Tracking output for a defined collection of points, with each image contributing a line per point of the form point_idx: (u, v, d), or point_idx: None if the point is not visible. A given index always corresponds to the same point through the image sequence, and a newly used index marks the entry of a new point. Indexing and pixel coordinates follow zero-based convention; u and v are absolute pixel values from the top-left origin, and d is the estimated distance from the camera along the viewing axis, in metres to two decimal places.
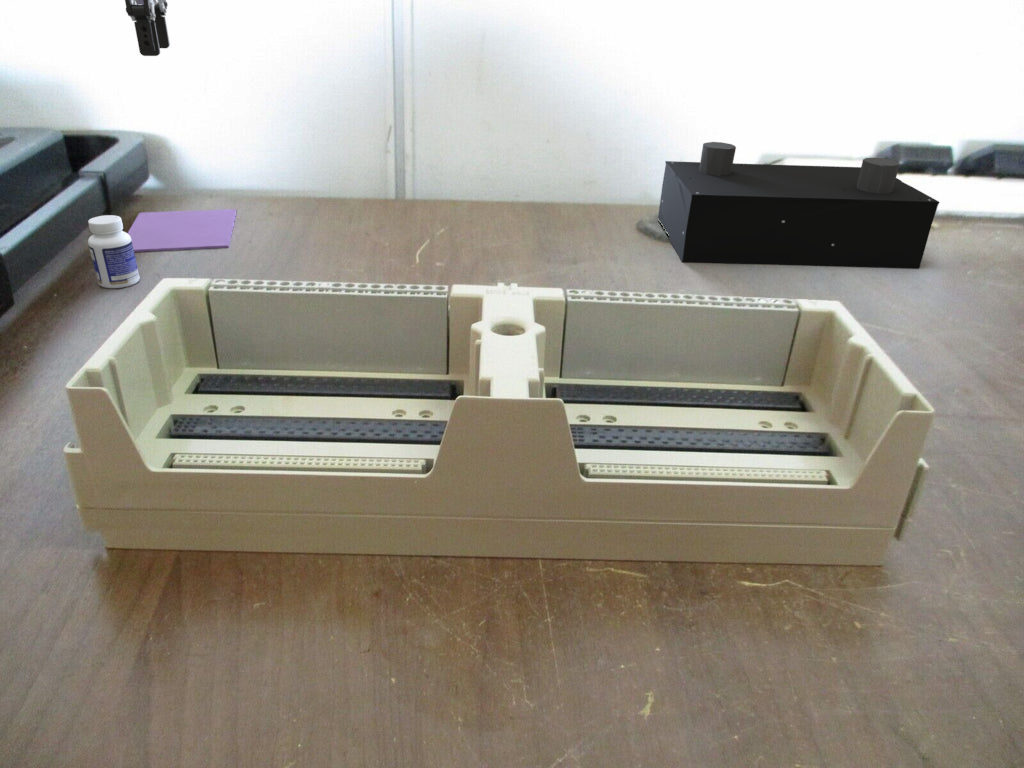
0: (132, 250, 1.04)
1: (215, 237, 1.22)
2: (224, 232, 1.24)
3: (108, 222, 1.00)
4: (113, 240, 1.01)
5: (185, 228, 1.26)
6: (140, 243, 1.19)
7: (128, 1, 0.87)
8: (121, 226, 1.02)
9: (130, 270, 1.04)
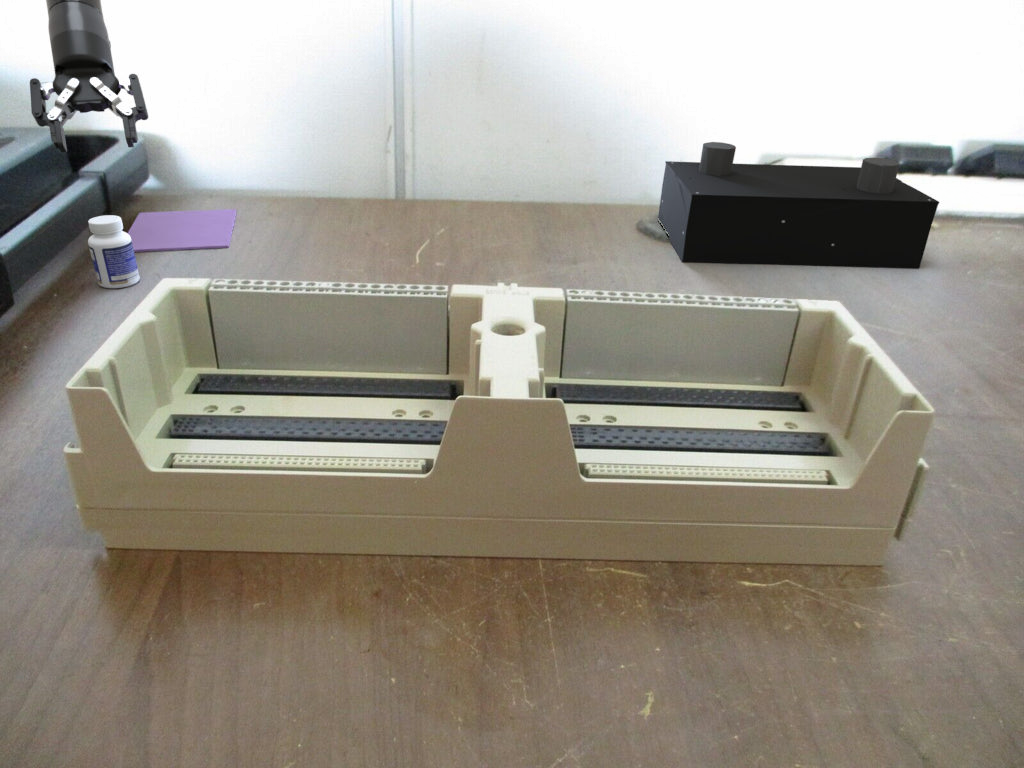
0: (132, 250, 1.04)
1: (215, 237, 1.22)
2: (224, 232, 1.24)
3: (108, 222, 1.00)
4: (113, 240, 1.01)
5: (185, 228, 1.26)
6: (140, 243, 1.19)
7: (144, 102, 1.09)
8: (121, 226, 1.02)
9: (130, 270, 1.04)
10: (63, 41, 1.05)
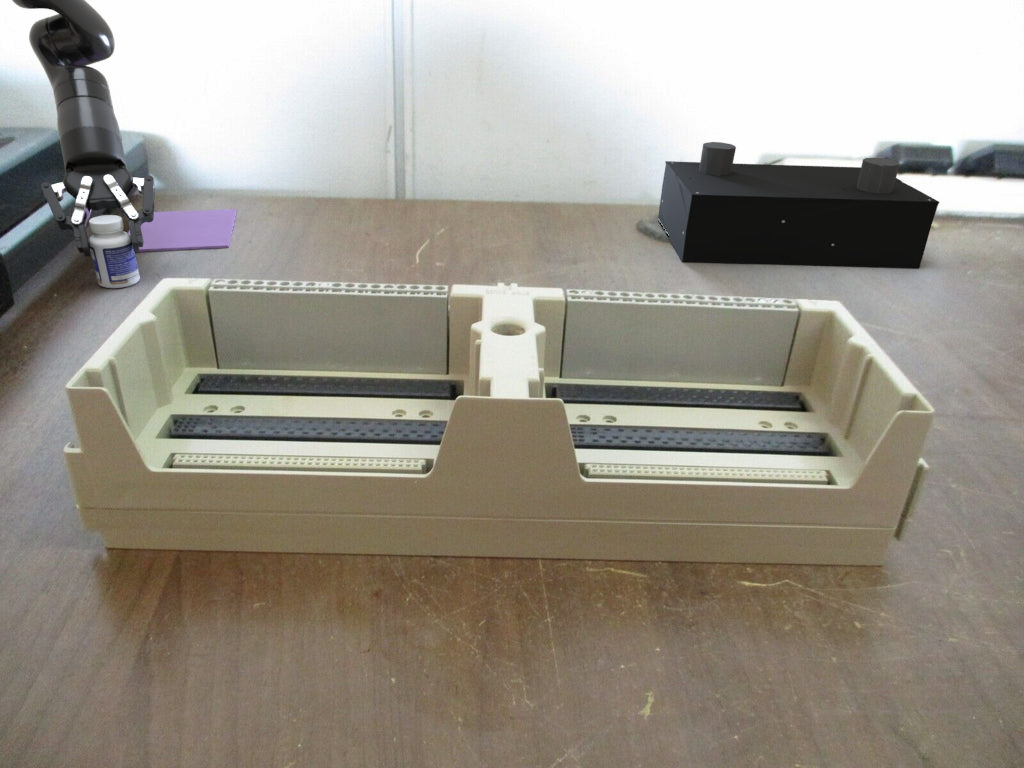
0: (132, 250, 1.04)
1: (215, 237, 1.22)
2: (224, 232, 1.24)
3: (109, 222, 1.00)
4: (114, 240, 1.01)
5: (185, 228, 1.26)
6: None
7: (152, 205, 1.04)
8: (122, 226, 1.02)
9: (130, 270, 1.04)
10: (76, 138, 1.01)
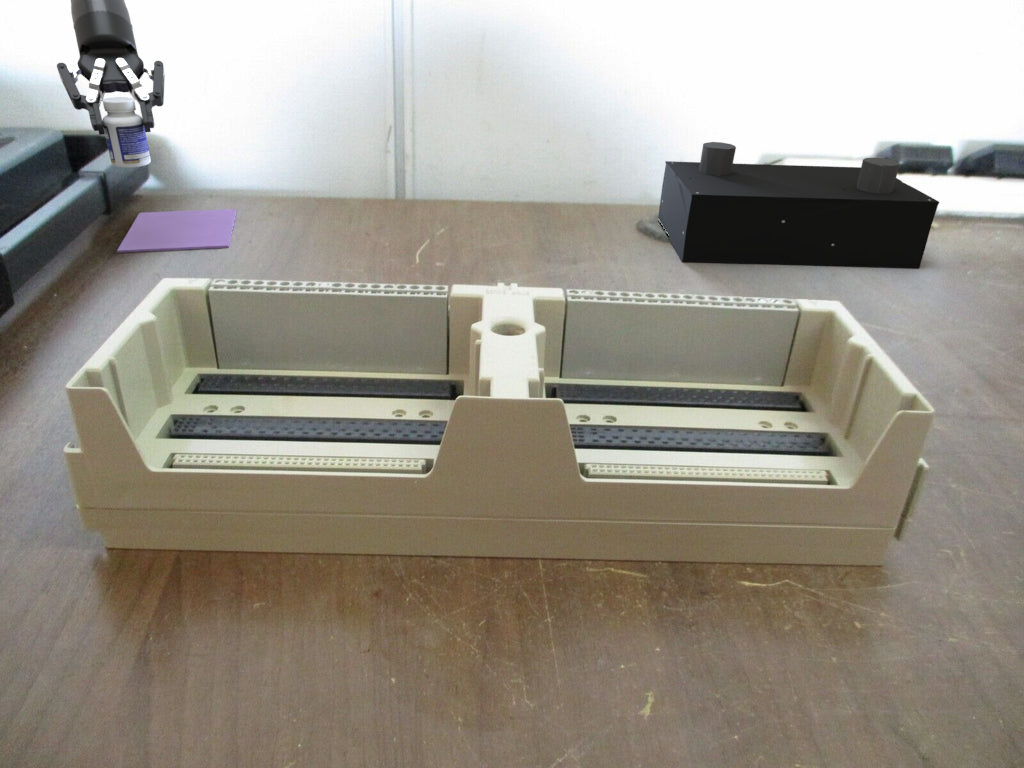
0: (144, 131, 1.09)
1: (215, 237, 1.22)
2: (224, 232, 1.24)
3: (122, 101, 1.05)
4: (126, 119, 1.06)
5: (185, 228, 1.26)
6: (140, 243, 1.19)
7: (162, 89, 1.09)
8: (134, 107, 1.07)
9: (142, 150, 1.09)
10: (89, 21, 1.06)
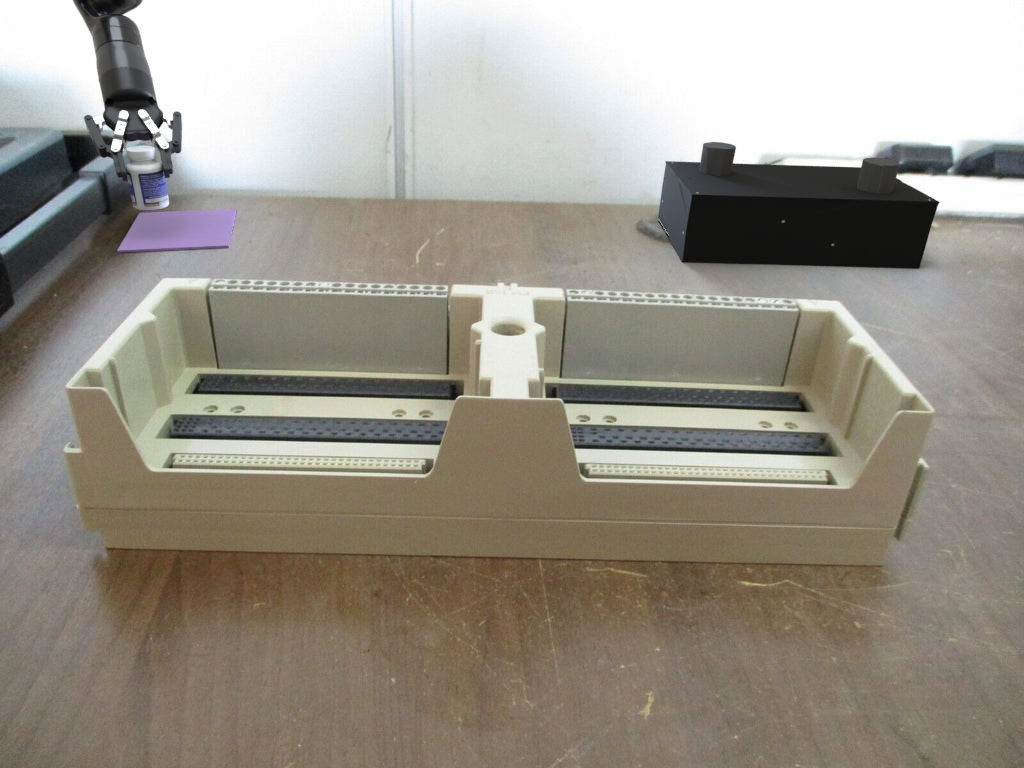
0: (163, 177, 1.18)
1: (215, 237, 1.22)
2: (224, 232, 1.24)
3: (144, 150, 1.14)
4: (148, 166, 1.15)
5: (185, 228, 1.26)
6: (140, 243, 1.19)
7: (180, 137, 1.18)
8: (154, 155, 1.16)
9: (162, 194, 1.18)
10: (114, 77, 1.15)
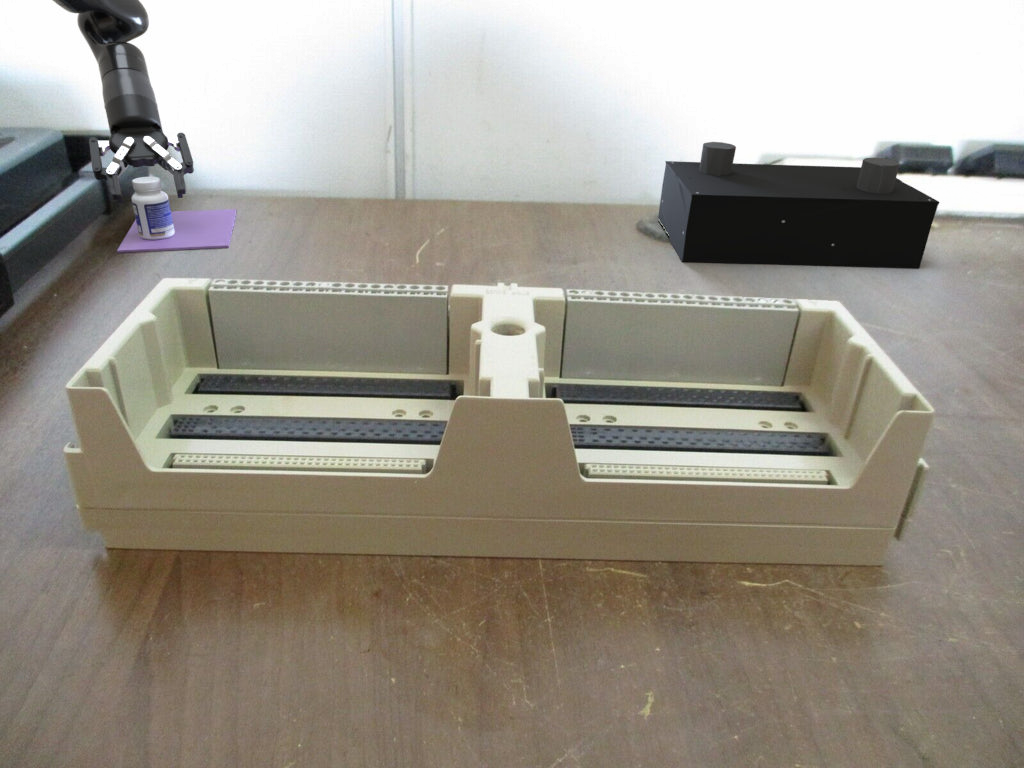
0: (169, 207, 1.20)
1: (215, 237, 1.22)
2: (224, 232, 1.24)
3: (149, 182, 1.17)
4: (153, 197, 1.17)
5: (185, 228, 1.26)
6: (140, 243, 1.19)
7: (191, 157, 1.21)
8: (160, 185, 1.19)
9: (167, 223, 1.20)
10: (119, 104, 1.17)
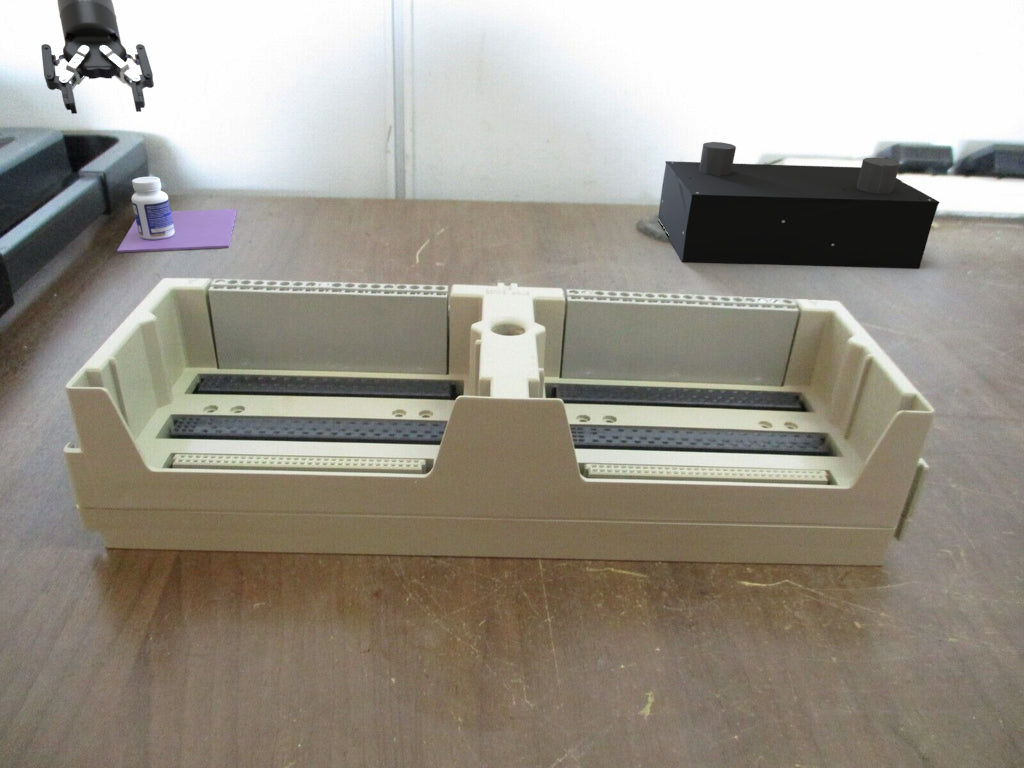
0: (169, 207, 1.20)
1: (215, 237, 1.22)
2: (224, 232, 1.24)
3: (149, 182, 1.17)
4: (153, 197, 1.17)
5: (185, 228, 1.26)
6: (140, 243, 1.19)
7: (151, 70, 1.15)
8: (160, 185, 1.19)
9: (167, 223, 1.20)
10: (74, 10, 1.11)
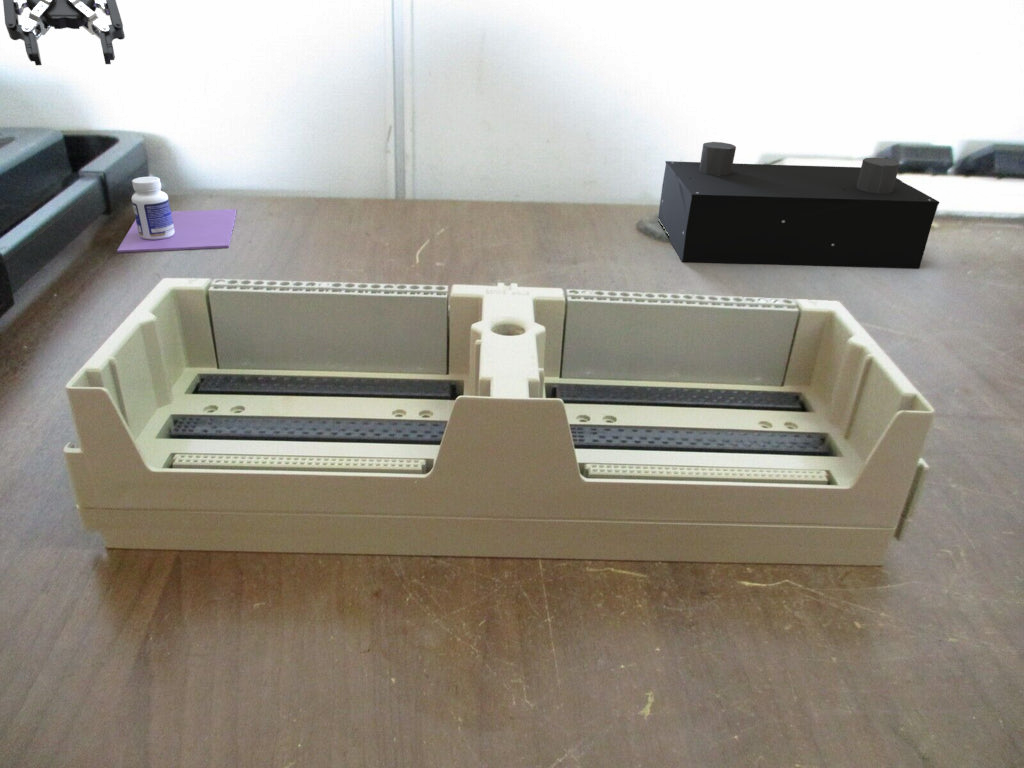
0: (169, 207, 1.20)
1: (215, 237, 1.22)
2: (224, 232, 1.24)
3: (149, 182, 1.17)
4: (153, 197, 1.17)
5: (185, 228, 1.26)
6: (140, 243, 1.19)
7: (121, 20, 1.08)
8: (160, 185, 1.19)
9: (167, 223, 1.20)
10: None
